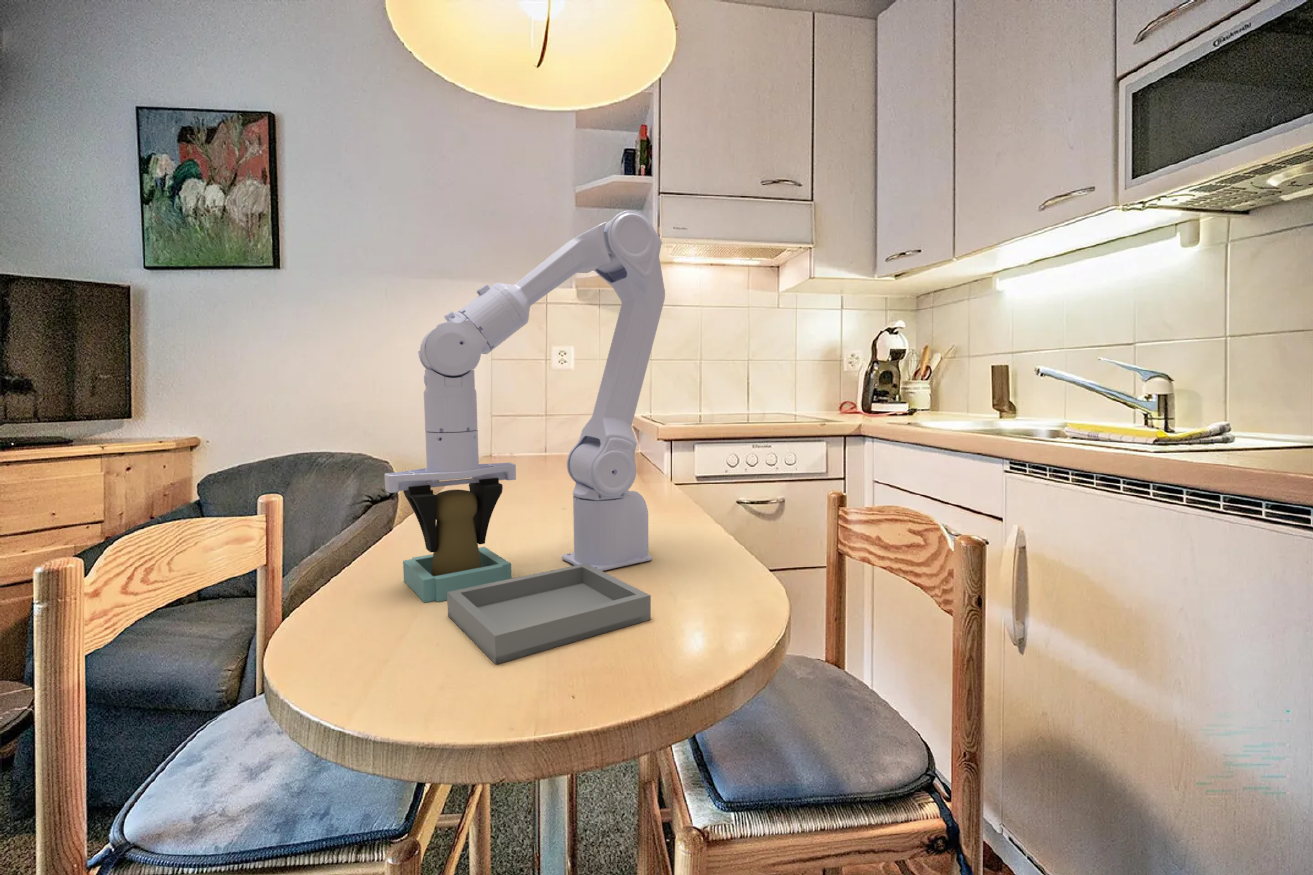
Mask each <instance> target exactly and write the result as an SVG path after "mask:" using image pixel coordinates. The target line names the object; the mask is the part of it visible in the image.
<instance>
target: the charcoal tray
mask: <svg viewBox="0 0 1313 875" xmlns="http://www.w3.org/2000/svg"><path fill="white" fill-rule="evenodd" d="M511 578H512V577H511ZM651 596H652V595H651V594H648V593H647V592H645V591H643V590H641V589H638V588H637V587H635V586H633V585H631V584H629V583H627V582H624V581H623V580H621V579H618V578H617V577H616V576H612V575H610V574H608V573H607V572H604V571H601V570H599V569H597V568H595V567H593V566H591V565H588V564H586V563H584V564H580V565H571V566H566V567H561V568H557V569H552V570H547V571H542V572H537V573H532V574H528V575H523V576H518V577H513V578H512V579H507V580H503V581H498V582H493V583H488V584H483V585H478V586H474V587H469V588H464V589H459V590H454V591H450V592H447V600H446V601H447V616H448V617H449V619H450V620H451V621H452V622H453V623H454V624H455V625H456V626H457V627H458V628H459V629H460V630H461V631H462V632H463V633H464V634H465V635H466V636H467V637H468V638H469V639H470V640H471V641H472V642H473V643H474V645H476V646H477V647H478V648H479V649H480V651H482V653H484V654H485V655H486V656H487V657H488V659H490V660H491V662H492V663H494V665H499V664H503V663H506V662H509V661H510V662H511V661H513V660H516V659H521V658H523V657H528V656H529V655H533V654H538V653H541V652H544V651H548V650H550V649H554V648H558V647H561V646H565V645H568V644H572V643H575V642H579V641H582V640H585V639H589V638H592V637H595V636H599V635H603V634H606V633H609V632H613V631H616V630H620V629H624V628H627V627H630V626H634V625H637V624H641V623H644V622H646V621H647V622H648V621H651V619H652V617H651V616H652V614H651V612H652V611H651V606H652V605H651V602H652V601H651V600H652V599H651V598H652V597H651Z"/></svg>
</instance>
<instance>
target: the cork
mask: <svg viewBox="0 0 1313 875" xmlns="http://www.w3.org/2000/svg"><path fill="white" fill-rule="evenodd" d="M435 495H436V496H437V497H438V498H437V508H436V532H437V543H438V544H437V552H432V554H433V562H432V572H431V575H432V576H433V577H434V576H439V575H444V574H449V573H455V572H460V571H465V570H470V569H476V568H481V567H482V566H481V561H480V555H479V549H478V548H479V544H478V543H477V537H476V531H475V526H474V520H473V517H474V516H475V514H476V512H477V508H478V501H477V498H476V496H475V495H474V493H472V492H470V490H467V489H449V490H443V491H440V492H437V493H436V494H435Z"/></svg>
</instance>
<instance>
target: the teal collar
mask: <svg viewBox="0 0 1313 875" xmlns="http://www.w3.org/2000/svg"><path fill="white" fill-rule="evenodd" d="M478 549H479V555H480V561H481V566H482V567H481V568H476V569H470V570H465V571H460V572H455V573H449V574H444V575H439V576H434V577H433V576H432V575H431V572H432V562H433V553H432V554H426V555H420V556H413V557H412V558H410V559H405V560H403V561H402V565H403V566H402V568H403V582H404V583H405V584H406V585H407V586H408V587H409V588H410V590H412V592H414V594H415V595H416V596H417V597H418V598H419V599H420V600H421V601H422V602H423V603H424V604H425V603H430V602H434V601H436V603H438V602H444V601H447V592H450V591H454V590H459V589H464V588H469V587H474V586H478V585H483V584H488V583H493V582H498V581H503V580H507V579H512V563H511V562H510V561H508V560H506V559H505V558H503V557H502V556H500V555H498V554H497V553H495V552H493V551H492V550H491V549H489V548H487V547H486V546H481V547H478Z"/></svg>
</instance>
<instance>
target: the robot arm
mask: <svg viewBox="0 0 1313 875" xmlns="http://www.w3.org/2000/svg"><path fill="white" fill-rule="evenodd" d="M662 243H663V242H662V239H661V238H660V235H659V234H658V233H657V231H656V229H655V228H654V227H653V224H652V223H651V222H650V220H649V218H647V217H646V216H645V215H644V214H642V213H641V212H638V211H635V210H625V211H624V210H623V211H621V212H619V213H617V214H616V215H615V216H614V217H613V218H612V219H611V220H609V221H604V222H602V223H599V224H598V225H596V226H594V227H592V228H590V229H588V230H586V231H584V232H582V233H581V234H579V235H576V236H575V237H573V238H572V239H570V240H569V241H566V243H565V244H563V245H561V246H560V247H559V248H558V249H557V250H555V251H554V252H553V253H552V254H550V255H549V256H548V257H547V258H545V259H544V260H543V261H541V262H540V263H538V265H537V266H535V267H534V268H533V269H532V270H530V271H529V272H528V273H526V275H524V276H523V277H522V278H520V279H519V280H518V281H516V282H515V283H514V284H509V283H502V282H495V283H494V284H493V285H491V286H489V284H484V285H483V286H481V287H480V288H478V289H477V290H476V294H477V295H478V296H477V297H475V298H473V299H472V300H471V301H470V302H469V303H467V304H466V305H464V306H463V307H462V308H460V309H459V310H458V311H457V312H454V311H452V310H451V311H449V312H448V313H446V315H444V320H445V321H443V322H441V323H438V324H437V325H436V327H435V328H434V329H432V330H430V331H429V332H428V333H426V335H425V336H424V337H423V339H422V341H421V343H420V348H419V349H420V350H419V351H418V352H417V354H418V359H419V361H420V363H421V365H422V366H423V368H425V369H424V375H423V382H424V385H425V386H424V387H425V389H424V391H423V405H424V408H423V409H424V410H423V411H424V430H425V451H426V452H425V453H426V456H425V457H426V467H425V468H418V469H411V470H404V471H396V472H388V473H387V472H386V473H384V491H385V492H387V493H389V494H394V493H395V494H396V493H399V492H401V491H402V492H403V494H404V497H405V498H406V500H407V501H408V503H409V505H410V507H411V508H412V510H413V513H414V515H415V516H416V519H417V522H418V524H419V527H420V529H421V532H422V536H423V540H424V544H425V549H426V550H427V551H428V552H429V553H433V552H437V544H438V543H437V532H436V522H437V520H436V508H437V498H438V497H437V496H436V494H435V493H434V490H433V489H432V488H438V487H441V488H442V487H448V486H449V487H450V486H459V485H460V486H461V485H465V484H466V485H467V484H468V489H469V491H470V492H472V493H474V495H475V496H476V498H477V501H478V508H477V512H476V514H475V516H474V517H473V520H474V526H475V531H476V537H477V543H478V545H485V544H486V540H487V533H488V528H489V524H490V522H491V521H490V520H491V518H492V516H493V512H494V510H495V507H496V505H497V503H498V500H499V499H500V497H501V495H502V493H503V489H504V488H503V486H504V485H503V483H500V482H499V481H504V480H506V481H514V480H517V470H516V469H517V468H516V466H517V465H516V463H512V462H497V463H480V461H479V458H480V457H479V434H478V432H479V430H478V408H477V407H478V405H477V404H478V402H477V398H478V397H477V391H476V387H475V386H476V384H475V383H476V381H475V379H476V378H475V369H476V368H477V366H478V364H479V362H480V360H481V358H482V357H481V356H482V355H488V354H489V353H490V352H492V351H493V350H495V349H496V348H497V347H499V346H500V345H501V344H503V342H504V341H506V340H507V339H508V338H510V337H512V335H514V334H515V333H516V332H518V331H519V330H520V329H521V328H523V327H524V326H525V325H526V324H528V323H529V320H530V318H529V316H530V308H531V306H532V305H534V304H535V303H537V302H538V301H539V300H541V299H543V297H545V296H546V295H548V294H549V293H551V292H552V291H553V290H555V289H556V288H557V287H559V286H560V285H562V284H563V283H564V282H566V281H567V280H569V279H570V278H571V277H572V276H574V275H575V274H577V273H578V274H589V273H591V272H595V273H596V274H597V275H598V276H599V277H600V278H602V279H603V281H605V282H606V283H608V285H610V287H611V288H612V289H613V291H615V293H616V295H617V297H618V298H619V300H620V301H621V305H620V309H619V312H618V317H617V320H616V324H615V328H614V332H613V336H612V340H611V344H610V348H609V350H608V354H607V355H608V356H607V359H606V362H605V366H604V371H603V373H602V374H603V375H602V378H601V381H600V385H599V388H598V393H597V396H596V397H597V398H596V401H595V404H594V408H593V410H592V411H593V412H592V416H591V417H590V419H589V420H588V422H586V424H585V425H584V427H583V428H582V429H581V433H580V437H579V439H578V441H577V443H576V444H575V445H574V446H573V447H572V449H571V450H570V451H569V453H568V455H567V459H566V469H567V473H568V475H569V476H570V478H571V480H572V481H573V482H575V485H574V488H573V491H572V502H573V503H572V507H573V510H572V511H573V512H572V513H573V517H572V518H573V552H570V553H564V554H561V559H562V560H563V561H566V562H568V563H570V564H571V565H572V566H575V565H580V564H584V563H586V564H588V565H591V566H593V567H595V568H597V569H599V570H601V571H603V572H604V571H607V570H612V569H617V568H621V567H626V566H630V565H634V564H640V563H643V562H649V561H651V560H653V558H652V557H653V556H652V555H650V554H649V509H648V504H647V503H646V500H645V498H644V497H643V495H642V494H641V493H640V492H638V491H636V490H630V489H631V487H632V486H633V484H634V483H635V480H636V477H637V465H636V464H637V463H636V458H635V456H636V449H637V444H638V443H637V442H638V441H637V438H636V436H635V434H634V430H633V423H634V418H635V414H636V410H637V408H638V407H637V406H638V403H639V399H640V396H641V392H642V388H643V385H644V380H645V377H646V372H647V368H648V365H649V361H650V357H651V354H652V350H653V345H654V341H655V338H656V335H657V330H658V326H659V323H660V318H661V315H662V311H663V307H664V303H665V298H666V291H665V290H666V289H665V284H664V278H663V272H662V266H661V265H662V264H661V260H660V254H661V248H662Z"/></svg>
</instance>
